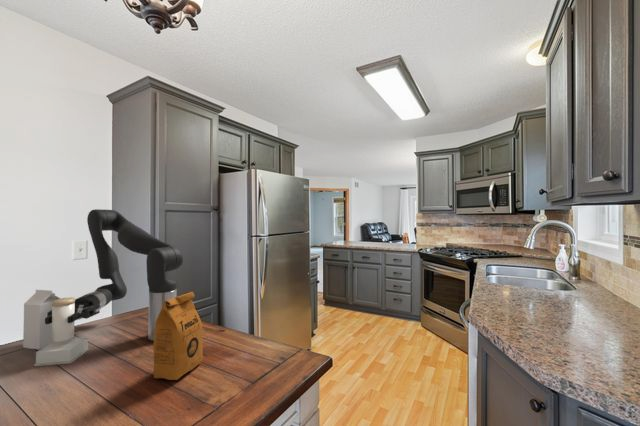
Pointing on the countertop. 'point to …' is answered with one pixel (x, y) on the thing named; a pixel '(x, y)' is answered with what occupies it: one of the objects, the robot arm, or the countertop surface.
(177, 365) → the coffee package
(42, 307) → the milk carton
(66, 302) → the jar
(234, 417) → the countertop surface
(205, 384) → the countertop surface
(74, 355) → the riser
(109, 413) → the countertop surface
